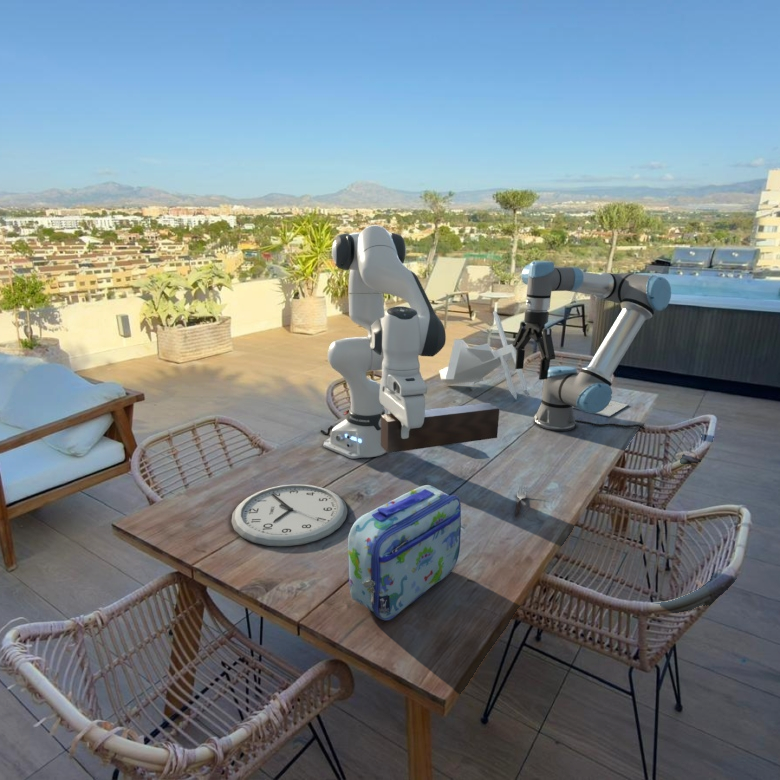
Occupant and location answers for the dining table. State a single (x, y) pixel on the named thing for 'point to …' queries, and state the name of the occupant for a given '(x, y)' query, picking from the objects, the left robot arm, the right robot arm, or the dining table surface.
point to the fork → (520, 496)
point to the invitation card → (611, 408)
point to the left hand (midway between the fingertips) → (399, 432)
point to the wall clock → (289, 515)
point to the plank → (442, 427)
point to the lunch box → (403, 549)
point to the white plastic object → (481, 362)
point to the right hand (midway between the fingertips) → (530, 373)
